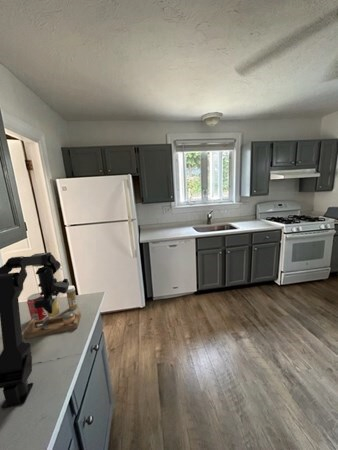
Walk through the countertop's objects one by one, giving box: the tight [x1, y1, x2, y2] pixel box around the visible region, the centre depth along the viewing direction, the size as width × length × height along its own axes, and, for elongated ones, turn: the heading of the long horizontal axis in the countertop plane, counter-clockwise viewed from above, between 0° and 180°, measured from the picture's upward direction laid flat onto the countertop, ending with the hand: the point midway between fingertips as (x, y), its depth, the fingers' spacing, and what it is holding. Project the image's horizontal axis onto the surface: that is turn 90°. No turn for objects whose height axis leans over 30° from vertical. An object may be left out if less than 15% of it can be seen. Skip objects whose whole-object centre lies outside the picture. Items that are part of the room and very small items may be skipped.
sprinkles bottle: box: [65, 285, 79, 311], centre depth 108 cm, size 5×5×13 cm
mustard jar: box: [47, 295, 60, 318], centre depth 93 cm, size 5×5×8 cm
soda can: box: [26, 292, 48, 321], centre depth 102 cm, size 7×7×13 cm
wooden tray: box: [22, 310, 82, 339], centre depth 95 cm, size 9×22×4 cm, turn 102°
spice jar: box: [62, 310, 76, 326], centre depth 96 cm, size 5×5×5 cm
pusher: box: [36, 316, 50, 330], centre depth 93 cm, size 6×4×4 cm
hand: (52, 310), depth 93 cm, fingers closed on mustard jar, 5 cm apart
